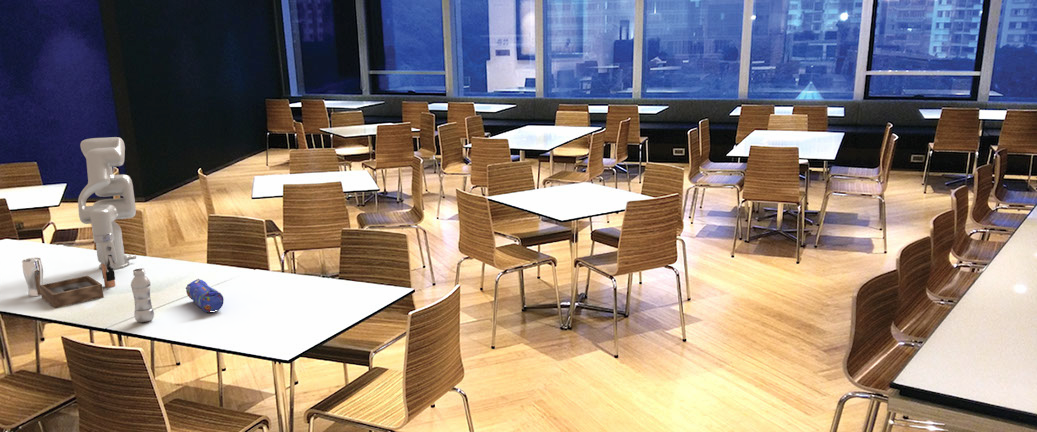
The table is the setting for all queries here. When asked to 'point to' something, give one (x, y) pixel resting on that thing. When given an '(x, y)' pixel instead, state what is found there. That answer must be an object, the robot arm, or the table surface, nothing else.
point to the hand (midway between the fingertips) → (109, 278)
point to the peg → (107, 283)
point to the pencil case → (204, 295)
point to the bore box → (71, 291)
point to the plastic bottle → (142, 296)
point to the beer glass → (33, 275)
